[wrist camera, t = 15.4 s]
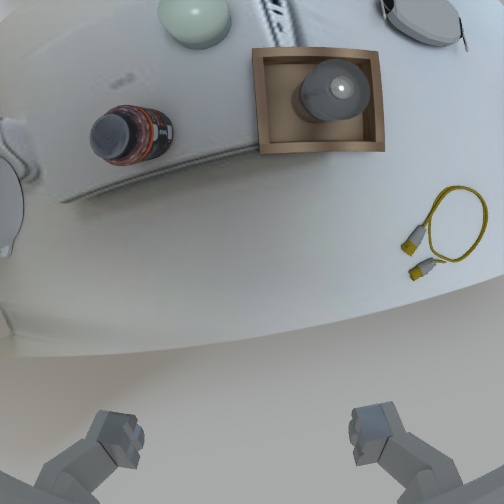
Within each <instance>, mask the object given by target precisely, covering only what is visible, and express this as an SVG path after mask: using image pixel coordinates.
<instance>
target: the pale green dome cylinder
mask: <svg viewBox="0 0 504 504" xmlns="http://www.w3.org/2000/svg"><path fill="white" fill-rule="evenodd" d="M158 18H159V21H160V23H161V24H162V26H163V27H164V28H165V29H166V30H167V31H168V32H169V33H170V34H171V35H172V36H173V37H174V38H175V40H176V41H177V42H178V43H179V44H181V45H182V46H184V47H186V48H189V49H196V50H200V49H207V48H210V47H212V46H215V45H216V44H218V43H219V42H221V41H222V40H223V39H224V38H225V37H226V36H227V34H228V32H229V30H230V27H231V16H230V11H229V7H228V3H227V0H161V1H160V3H159V6H158Z"/></svg>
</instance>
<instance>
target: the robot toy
mask: <svg viewBox="0 0 504 504" xmlns="http://www.w3.org/2000/svg"><path fill="white" fill-rule="evenodd" d="M379 1H380V2H381V7H382V12H383V18H384V19H386V14H387V17H388V19H389V20H390V22H391V23H392V24H393V25H394V26H395V27H396V28H397V29H399V30H400V31H402V32H404V33H405V34H407V35H409V36H411V37H413V38H415V39H417V40H418V41H420V42H422V43H426V44H430V45H435V46H441V47H446V46H449V45H452V44H454V43H456V42H458V40H459V39H460V38H462V37H463V40H464V44H465V49H466V51H467V52H468V51H469V48H468V46H467V43H466V39H465V36H464V33H463V32H464V29H463V28H462V23H461V19H460V17H459V15H458V12H457V11H456V9H455V8H454V7H453V6H452V4H451V3H450V2H448V1H447V0H379ZM385 13H386V14H385Z"/></svg>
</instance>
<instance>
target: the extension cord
mask: <svg viewBox="0 0 504 504" xmlns="http://www.w3.org/2000/svg"><path fill="white" fill-rule="evenodd" d="M456 189H464V190H468V191H471V192H473V193H474V194H476V195H477V196H478V197H479V198H480V200H481V202H482V205H483V212H484V214H483V225H482V230H481V233H480V235H479V237H478V239H477V240H476V242H475V243H474V244H473V246H472V247H471V248H470V249H469V250H468V251H467V252H466V253H465V254H464V255H463V256H462V257H460V258H458V259H454V260H451V259H448V258H446V257H444V256H441V255H439V254H438V253H436V252H435V251H434V249H433V247H432V242H431V218H432V215H433V213H434V211H435V210H436V208H437V207H438V205H439V204H440V202H441V201H442V199H443V198H444V197H445V196H446V195H447V194H448V193H449V192H451V191H453V190H456ZM447 190H448V191H447ZM445 191H446V192H445ZM444 192H445V193H444ZM443 193H444V194H443ZM442 194H443V195H442ZM441 195H442V197H441V198H440V199H439V197H440V196H441ZM438 199H439V201H438ZM437 201H438V202H437ZM436 202H437V204H436ZM485 210H486V212H485ZM485 214H486V221H485ZM428 221H429V224H428V234H429V244H430V248H431V250H432V252H433V253H434V254H435V255H437V256H438V257H440V258H442V259H445V260H447V261H450V262H459V261H461V260H463V259H464V258H466V257H467V256H468V255H469V254H470V253H471V252H472V251H473V250H474V249H475V248H476V246H477V245H478V243H479V242H480V240H481V238H482V236H483V234H484V232H485V229H486V226H487V222H488V210H487V206H486V203H485V201H484V200H483V198H482V197H481V195H480V194H479V193H477V192H476V191H475V190H473V189H470V188H467V187H461V186H450V187H447V188H446V189H444V190H443V191H442V192H441V193H440V194H439V195H438V196H437V198H436V199H435V201H434V203H433V206H432V209H431V212H430V215H429V217H428V218H427V220H426V222H425V223H424V225H423V226H421V225H419V227H418V228H417V229H416V230H415V231H414V232H413V233H412V234H411V235H410V237H409V238H408V240H407V241H406V243H405V244H404V245H403V246H402V250H403V251H405V252H406V253H407V254H408V255H410V256H412V254H413V253H414V252H415V250H416V249H417V247H418V246H419V245H420V243H421V241H422V239H423V237H424V234H425V232H426V229H425V226H426V225H427V223H428ZM484 225H485V226H484ZM436 262H439V263H446V261H442V260H434V259H433V258H431V259H429V260H427V261H424V262H422V263H420V264H418V265H417V266H416V268H414V269H412V270H411V271H409V272H410V274H411V276H410V277H411V279H412V280H413V281H415V280H416V279H418V278H419V277H423V276H424V275H426V274H427V273H428V272H429V271H430V270H431V269H432V268H433V267H434V266H436Z"/></svg>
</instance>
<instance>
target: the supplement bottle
mask: <svg viewBox="0 0 504 504" xmlns="http://www.w3.org/2000/svg"><path fill="white" fill-rule="evenodd" d="M172 138H173V127H172V124H171V122H170V120H169V119H168V118H167V117H166V116H165V115H164V114H163V113H161V112H160V111H157V110H153V109H147V108H142V107H137V106H131V105H121V106H117V107H114V108H113V109H111V110H109V111H108V112H107V113H106V114H104V116H102V117H100V118H99V119H98V120H97V121H96V122H95V123H94V125H93V127H92V129H91V133H90V143H91V147H92V149H93V151H94V152H95V153H96V154H97V155H98V156H99V157H101V158H103V159H104V160H105V161H106V162H108V163H110V164H112V165H116V166H127V165H131V164H135V163H139V162H143V161H146V160H150V159H154V158H156V157H159V156H160V155H162V154H163V153H164V152H165V151H166V150H167V149H168V148H169V146H170V144H171V142H172Z"/></svg>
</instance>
